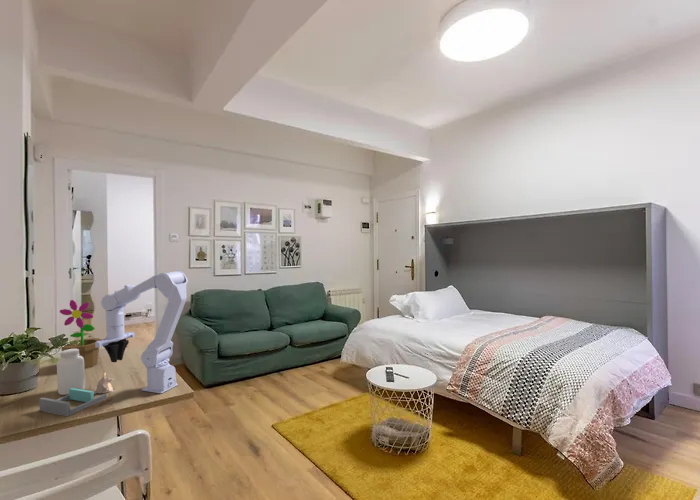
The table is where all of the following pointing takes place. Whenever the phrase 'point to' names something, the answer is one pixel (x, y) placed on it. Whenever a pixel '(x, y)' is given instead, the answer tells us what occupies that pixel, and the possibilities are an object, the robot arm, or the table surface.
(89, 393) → the block
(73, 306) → the flowerpot
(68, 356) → the pill bottle
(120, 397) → the table surface
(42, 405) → the tray
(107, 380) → the mouse figurine
